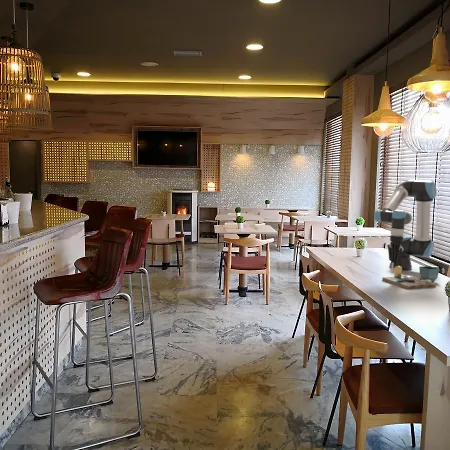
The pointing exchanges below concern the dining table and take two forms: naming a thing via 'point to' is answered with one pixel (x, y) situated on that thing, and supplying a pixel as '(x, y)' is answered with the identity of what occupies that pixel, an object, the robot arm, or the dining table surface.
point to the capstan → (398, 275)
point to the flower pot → (428, 273)
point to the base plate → (410, 283)
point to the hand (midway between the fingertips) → (393, 272)
